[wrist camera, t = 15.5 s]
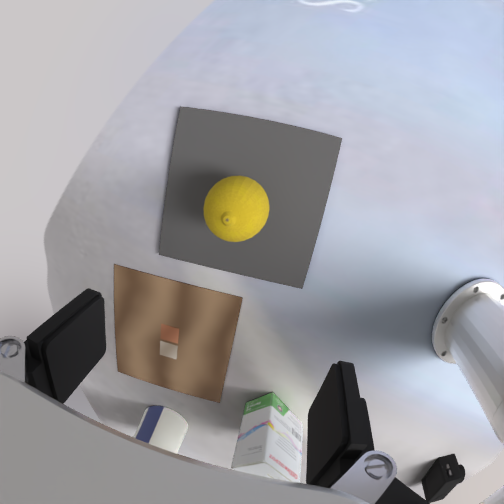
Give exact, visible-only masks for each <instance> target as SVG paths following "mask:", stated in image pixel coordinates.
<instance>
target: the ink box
mask: <svg viewBox="0 0 504 504" xmlns="http://www.w3.org/2000/svg"><path fill="white" fill-rule="evenodd" d="M302 436H303V423H302V422H301V421H300V420H299V419H298V418H297V417H296V416H295V415H294V414H293V413H292V412H291V411H290V410H289V409H288V408H287V407H286V406H285V405H284V404H283V402H282V401H281V400H280V399H279V398H278V397H277V396H276V395H275V394H274V393H273V392H272V393H269V394H267V395H264V396H262V397H259V398H257V399H254V400H252V401H249V402H247V403H246V405H245V409H244V414H243V418H242V422H241V427H240V431H239V435H238V440H237V444H236V448H235V453H234V457H233V461H232V465H231V468H232V469H234V470H236V471H240V472H245V473H249V474H254V475H259V476H264V477H269V478H274V479H280V480H285V481H291V482H298V483H300V473H301V456H302Z"/></svg>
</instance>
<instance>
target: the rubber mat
mask: <svg viewBox="0 0 504 504" xmlns="http://www.w3.org/2000/svg"><path fill="white" fill-rule="evenodd" d="M341 141H342V138H339V137H336V136H332V135H328V134H324V133H321V132H317V131H313V130H309V129H305V128H300V127H296V126H292V125H287V124H283V123H278V122H273V121H269V120H264V119H259V118H253V117H248V116H242V115H236V114H231V113H224V112H218V111H211V110H204V109H196V108H188V107H180V112H179V117H178V122H177V127H176V133H175V138H174V144H173V150H172V156H171V162H170V169H169V175H168V182H167V189H166V196H165V204H164V212H163V220H162V229H161V238H160V248H159V255H162V256H166V257H170V258H174V259H178V260H182V261H186V262H190V263H194V264H198V265H203V266H207V267H211V268H215V269H219V270H223V271H228V272H232V273H236V274H240V275H244V276H249V277H253V278H257V279H262V280H266V281H270V282H275V283H279V284H283V285H288V286H292V287H297V288H301V289H302V288H303V285H304V281H305V278H306V274H307V271H308V268H309V264H310V261H311V257H312V254H313V250H314V247H315V243H316V240H317V236H318V232H319V229H320V225H321V221H322V218H323V214H324V210H325V206H326V202H327V199H328V195H329V191H330V187H331V183H332V179H333V175H334V171H335V167H336V162H337V158H338V154H339V150H340V145H341ZM230 176H245V177H249V178H251V179H253V180H255V181H256V182H257V183H259V184H260V185H261V186H262V188H263V189H264V190H265V192H266V194H267V197H268V199H269V215H268V218H267V221H266V223H265V225H264V226H263V228H262V229H261V230H260V231H259V232H258V233H257V234H256V235H254V236H253V237H252V238H249V239H247V240H245V241H240V242H229V241H225V240H223V239H220V238H219V237H217V236H216V235H214V234H213V233H212V231H211V230H210V229H209V228H208V226H207V224H206V222H205V218H204V203H205V199H206V197H207V195H208V193H209V191H210V189H211V188H212V187H213V186H214V185H215V184H216V183H218V182H219V181H221V180H222V179H224V178H227V177H230Z"/></svg>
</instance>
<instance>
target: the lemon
mask: <svg viewBox="0 0 504 504" xmlns="http://www.w3.org/2000/svg"><path fill="white" fill-rule="evenodd" d="M268 215H269V199H268V197H267V194H266V192H265V190H264V189H263V188H262V186H261V185H260V184H259V183H257V182H256V181H255V180H253V179H251V178H249V177H245V176H230V177H227V178H224V179H222V180H221V181H219V182H218V183H216V184H215V185H214V186H213V187H212V188H211V189H210V191H209V193H208V195H207V197H206V199H205V203H204V218H205V222H206V224H207V226H208V228H209V229H210V230H211V231H212V233H213V234H214V235H216V236H217V237H219V238H220V239H223V240H225V241H229V242H240V241H245V240H247V239H249V238H252V237H253V236H254V235H256V234H257V233H258V232H259V231H260V230H261V229H262V228H263V226H264V225H265V223H266V221H267V218H268Z"/></svg>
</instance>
